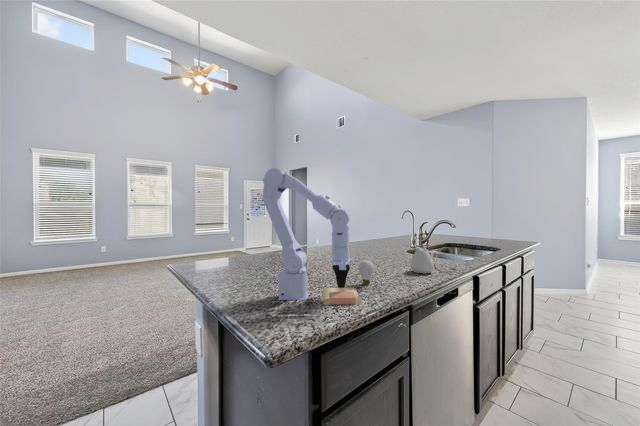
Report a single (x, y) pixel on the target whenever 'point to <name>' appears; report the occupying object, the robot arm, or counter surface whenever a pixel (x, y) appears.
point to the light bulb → (366, 271)
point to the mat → (350, 289)
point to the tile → (342, 298)
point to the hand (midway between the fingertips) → (341, 287)
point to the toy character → (422, 261)
